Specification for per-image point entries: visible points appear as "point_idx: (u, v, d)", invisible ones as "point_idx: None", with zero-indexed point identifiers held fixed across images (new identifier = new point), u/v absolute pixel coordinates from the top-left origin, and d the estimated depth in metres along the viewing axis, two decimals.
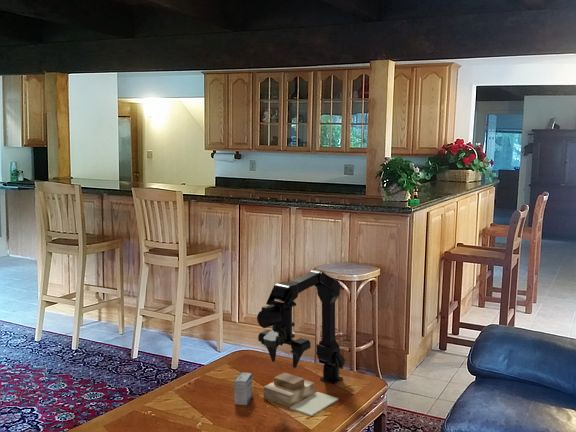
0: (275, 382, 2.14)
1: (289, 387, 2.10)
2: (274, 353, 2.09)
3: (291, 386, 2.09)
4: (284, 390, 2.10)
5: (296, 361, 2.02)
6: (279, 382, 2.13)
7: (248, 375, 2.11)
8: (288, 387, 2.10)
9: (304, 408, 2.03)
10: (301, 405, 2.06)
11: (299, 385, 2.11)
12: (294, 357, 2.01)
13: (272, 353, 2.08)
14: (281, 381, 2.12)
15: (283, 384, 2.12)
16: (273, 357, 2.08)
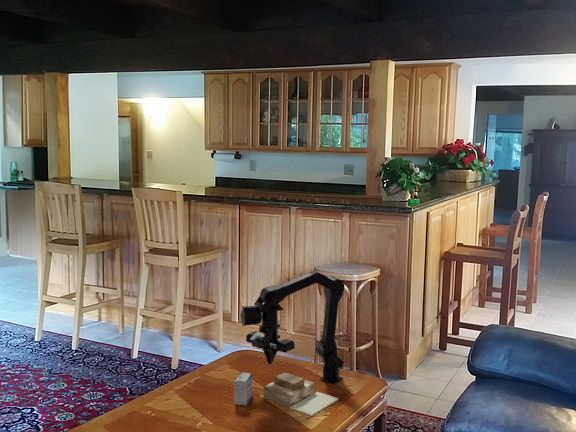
0: (275, 382, 2.14)
1: (289, 387, 2.10)
2: None
3: (291, 386, 2.09)
4: (284, 390, 2.10)
5: (272, 358, 2.18)
6: (279, 382, 2.13)
7: (248, 375, 2.11)
8: (288, 387, 2.10)
9: (304, 408, 2.03)
10: (301, 405, 2.06)
11: (299, 385, 2.11)
12: (270, 354, 2.17)
13: (268, 356, 2.18)
14: (281, 381, 2.12)
15: (283, 384, 2.12)
16: None
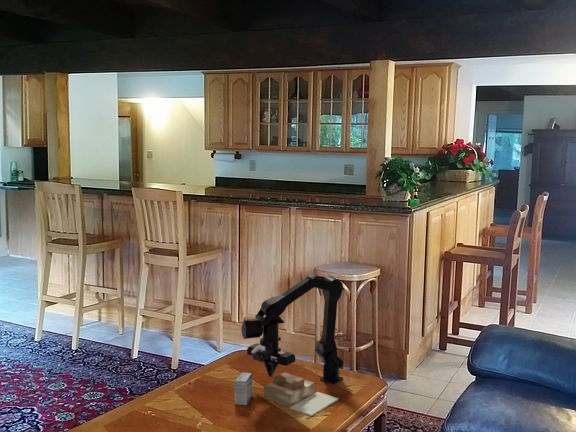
0: (275, 382, 2.14)
1: (289, 387, 2.10)
2: None
3: (291, 386, 2.09)
4: (284, 390, 2.10)
5: (272, 370, 2.18)
6: (279, 382, 2.13)
7: (248, 375, 2.11)
8: (288, 387, 2.10)
9: (304, 408, 2.03)
10: (301, 405, 2.06)
11: (299, 385, 2.11)
12: (270, 367, 2.17)
13: None
14: (281, 381, 2.12)
15: (283, 384, 2.12)
16: None
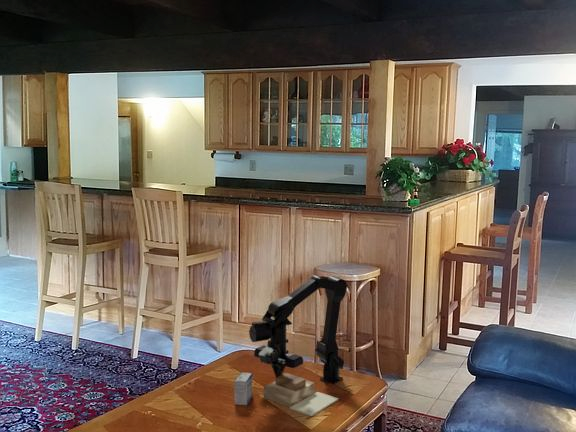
0: (276, 382, 2.14)
1: (290, 387, 2.10)
2: None
3: (293, 387, 2.09)
4: (284, 390, 2.10)
5: (280, 373, 2.16)
6: (280, 382, 2.12)
7: (248, 375, 2.11)
8: (289, 387, 2.10)
9: (304, 408, 2.03)
10: (301, 405, 2.06)
11: (300, 386, 2.11)
12: (278, 369, 2.15)
13: (276, 371, 2.16)
14: (282, 381, 2.12)
15: (284, 384, 2.11)
16: None
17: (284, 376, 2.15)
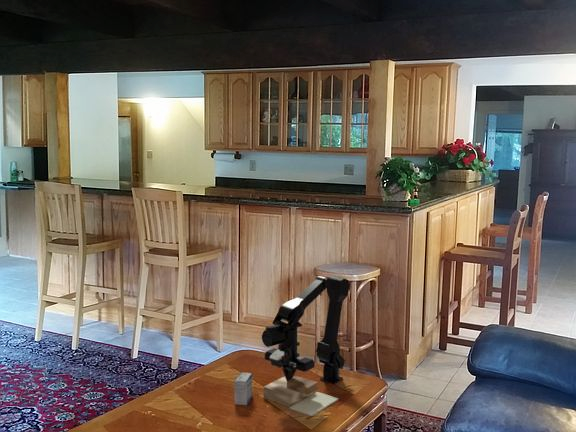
0: (288, 386, 2.11)
1: (303, 391, 2.07)
2: None
3: (305, 390, 2.06)
4: (284, 390, 2.10)
5: (291, 376, 2.13)
6: (292, 386, 2.09)
7: (248, 375, 2.11)
8: (302, 391, 2.07)
9: (304, 408, 2.03)
10: (301, 405, 2.06)
11: (312, 389, 2.08)
12: (289, 372, 2.12)
13: (287, 374, 2.13)
14: (294, 385, 2.09)
15: (296, 388, 2.08)
16: None
17: (295, 379, 2.12)
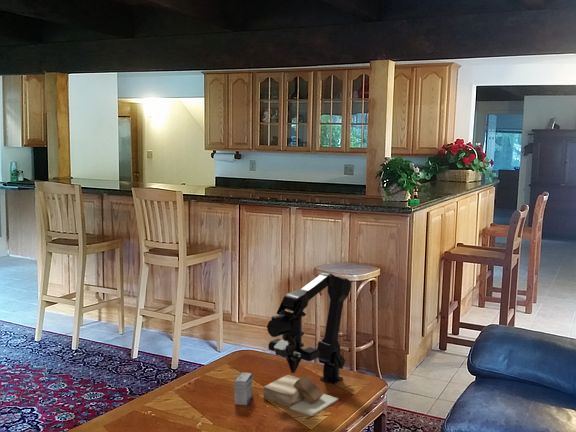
0: (295, 385, 2.09)
1: (308, 399, 2.07)
2: None
3: (311, 400, 2.06)
4: (284, 390, 2.10)
5: (295, 366, 2.11)
6: (300, 388, 2.08)
7: (248, 375, 2.11)
8: (307, 398, 2.07)
9: (304, 408, 2.03)
10: (301, 405, 2.06)
11: (317, 399, 2.08)
12: (293, 363, 2.10)
13: None
14: (302, 389, 2.07)
15: (303, 392, 2.07)
16: None
17: (304, 381, 2.10)
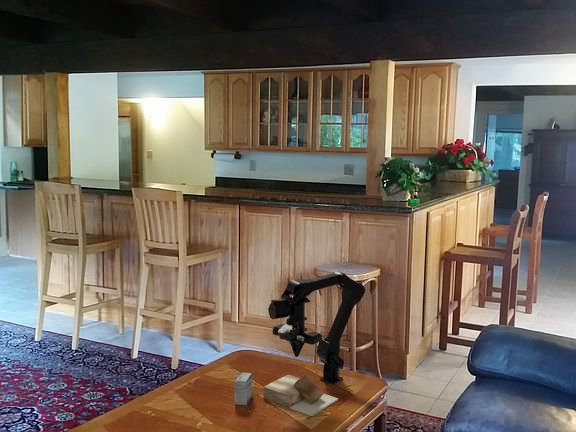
0: (295, 385, 2.09)
1: (308, 399, 2.07)
2: None
3: (311, 400, 2.06)
4: (284, 390, 2.10)
5: (298, 350, 2.18)
6: (300, 388, 2.08)
7: (248, 375, 2.11)
8: (307, 398, 2.07)
9: (304, 408, 2.03)
10: (301, 405, 2.06)
11: (317, 399, 2.08)
12: (297, 346, 2.17)
13: (295, 348, 2.19)
14: (302, 389, 2.07)
15: (303, 392, 2.07)
16: None
17: (304, 381, 2.10)
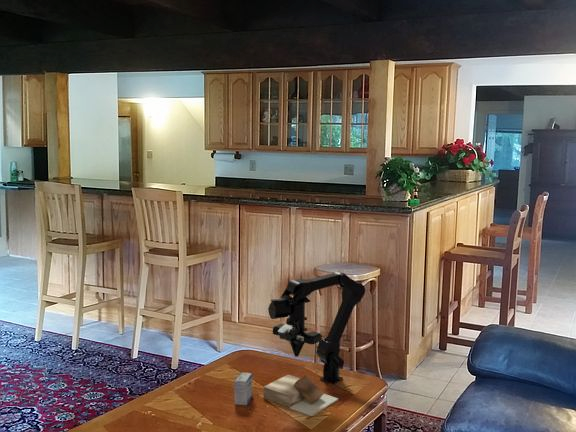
0: (295, 385, 2.09)
1: (308, 399, 2.07)
2: None
3: (311, 400, 2.06)
4: (284, 390, 2.10)
5: (298, 350, 2.18)
6: (300, 388, 2.08)
7: (248, 375, 2.11)
8: (307, 398, 2.07)
9: (304, 408, 2.03)
10: (301, 405, 2.06)
11: (317, 399, 2.08)
12: (296, 346, 2.17)
13: None
14: (302, 389, 2.07)
15: (303, 392, 2.07)
16: None
17: (304, 381, 2.10)
